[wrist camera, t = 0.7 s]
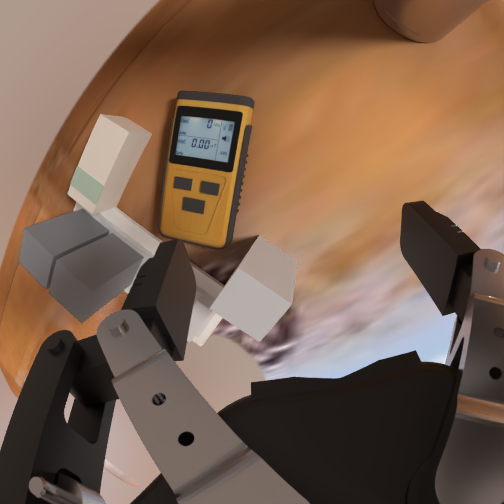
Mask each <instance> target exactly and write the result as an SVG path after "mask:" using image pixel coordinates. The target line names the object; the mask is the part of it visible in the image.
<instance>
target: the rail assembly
mask: <svg viewBox="0 0 504 504" xmlns="http://www.w3.org/2000/svg"><path fill="white" fill-rule="evenodd" d="M161 242H163V241H161V240H160V239H158V238H157V237H156V236H154V235H153V234H152V233H150V232H149V231H148V230H146V229H145V228H143V227H142V226H141V225H139V224H138V223H137V222H135V221H134V220H133V219H131V218H130V217H129V216H127V215H126V214H125V213H123V212H122V211H121V210H119V209H118V208H117V207H115V208H112V209H109V210H106V211H102V212H99V213H96V214H94V215H92V214H91V213H90V212H88V211H87V210H86V209H85V208H83V207H82V206H81V205H80V204H79V203H77V202H76V205H75V208H74V211H73V212H70V213H67V214H64V215H61V216H58V217H55V218H52V219H49V220H46V221H43V222H40V223H37V224H34V225H32V226H29V227H26V228H25V229H24V233H23V238H22V244H21V249H20V255H19V261H18V262H19V263H20V264H21V265H22V266H23V267H24V268H25V269H26V270H27V271H28V272H29V273H30V274H31V275H32V276H33V277H34V278H35V279H36V280H37V281H38V283H39V284H40V285H41V286H42V287H43V288H45V289H48V288H49V287H50V289H49V293H50V294H51V295H52V296H53V297H54V298H55V299H56V300H57V301H58V302H59V303H60V304H61V305H62V306H63V307H64V308H66V309H67V310H68V311H69V312H70V313H71V314H72V315H73V316H74V317H76V318H77V319H78V320H79V321H80V322H81V323H83V322H84V321H85V320H87V319H88V318H89V317H90V316H92V315H93V314H94V313H95V312H97V311H98V310H99V309H100V308H102V307H103V306H104V305H105V304H107V303H108V302H109V301H111V300H112V299H113V298H114V297H116V296H117V295H118V294H120V293H121V292H122V291H123V290H124V291H125V292H126V293H129V291H130V289H131V286H133V285H132V284H133V282H134V280H135V278H136V275H137V273H138V271H139V269H140V267H141V266H142V265H143V264H144V263H145V262H146V261H147V260H148V259H149V258H153V257H154V255H155V253H156V250H157V248H158V246H159V244H160V243H161ZM190 263H191V266H192V269H193V272H194V275H195V279H196V295H195V300H194V305H193V310H192V316H191V321H190V326H189V332H188V338H187V341H189V342H191V341H193V342H195V343H196V344H198V345H199V346H202V345H203V344H204V342H205V341H206V340H207V338H208V337H209V336H210V334H211V333H212V332H213V330H214V329H215V328H216V326H217V325H218V323H219V322H220V321H221V319H222V317H221V316H219V315H218V314H216V313H215V312H214V311H212V310H211V309H209V308H210V307H211V305H212V304H213V302H214V301H215V299H216V298H217V296H218V295H219V293H220V292H221V290H222V289H223V287H224V286H225V285H223V284H222V283H220V282H219V281H217V280H216V279H215V278H213V277H212V276H210V275H209V274H207V273H206V272H205V271H203V270H202V269H200V268H199V267H197V266H196V265H195V264H193V263H192V262H190Z"/></svg>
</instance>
